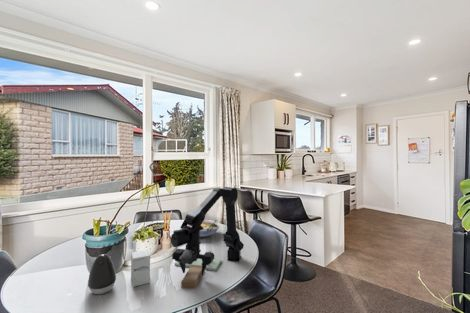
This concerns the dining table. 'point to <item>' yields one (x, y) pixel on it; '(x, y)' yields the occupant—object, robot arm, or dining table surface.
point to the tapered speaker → (102, 275)
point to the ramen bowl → (208, 228)
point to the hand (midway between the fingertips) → (193, 274)
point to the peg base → (212, 266)
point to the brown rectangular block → (192, 277)
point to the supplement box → (140, 267)
